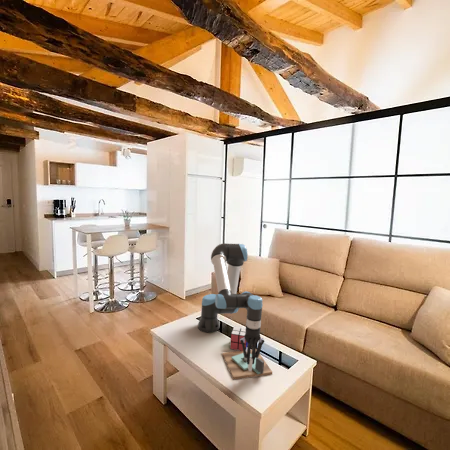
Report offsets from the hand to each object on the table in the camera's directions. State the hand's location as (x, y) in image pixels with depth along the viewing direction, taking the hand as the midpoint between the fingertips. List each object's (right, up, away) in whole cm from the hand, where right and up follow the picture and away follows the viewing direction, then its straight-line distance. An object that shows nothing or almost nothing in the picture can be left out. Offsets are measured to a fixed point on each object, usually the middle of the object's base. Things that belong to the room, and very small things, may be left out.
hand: (249, 369), depth 135 cm
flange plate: (+1, -2, +8) cm, 8 cm away
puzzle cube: (-4, -2, +29) cm, 29 cm away
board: (-1, -3, +11) cm, 11 cm away
